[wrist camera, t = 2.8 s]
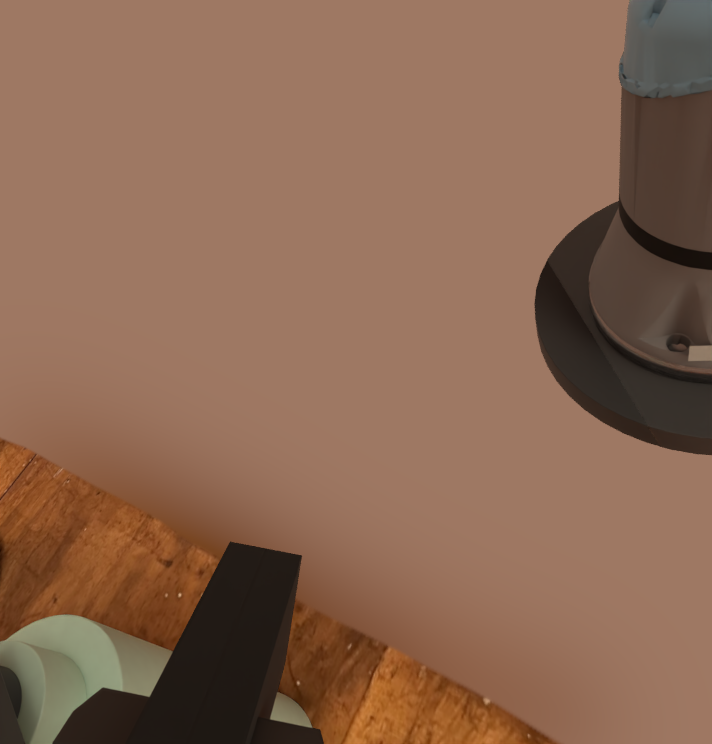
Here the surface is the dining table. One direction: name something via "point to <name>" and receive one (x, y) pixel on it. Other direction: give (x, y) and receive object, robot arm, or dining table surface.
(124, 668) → the spray bottle
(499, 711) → the dining table surface
